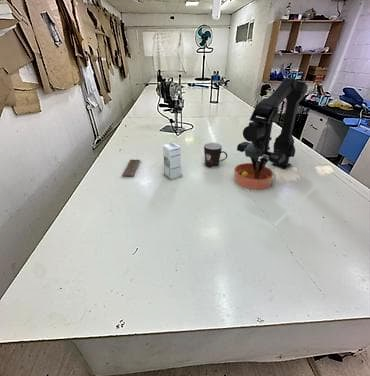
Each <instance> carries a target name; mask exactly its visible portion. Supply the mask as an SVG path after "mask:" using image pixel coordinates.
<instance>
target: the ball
mask: <svg viewBox="0 0 370 376" xmlns="http://www.w3.org/2000/svg"><path fill="white" fill-rule="evenodd" d="M241 175H242V176H244V177H246V178H247V177H248V173H247V172H245V171H244V172H242V174H241Z"/></svg>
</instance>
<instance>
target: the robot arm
mask: <svg viewBox="0 0 370 376" xmlns="http://www.w3.org/2000/svg"><path fill="white" fill-rule="evenodd" d="M308 89H309V85H308V84H307V83H306V81H300V80H298V79H297V78H291V77H285V78H283V79H282V80H281V82H280V84H279V85H278V86H277V88H275V90H274V91H273V92H272V93H271V94H270V95H269V96H268V97H265V98H262V99H261V100H260V101H259V102H258V103H257V104H256V105H255V107H254V108H253V112H251V113H252V114H251V115H250V118H249V121H250V122H248V125H247V126H245V127H244V128H243V130H242V136H243V138H244V140H245V141H243V142H240V143H238V144H237V146H236V151H238V152H240V153H244V156H245V157H247V158H249V159H250V161H251V163H252V164H253V168H254V170H255V166H256V161H260V166H259V172H261V171H262V169H263V168H264V166H265V167H266V165H267V163H268V162H270V163H272V165H273V166H275V167H278V168H280V169H284V170H286V169H287V168H289V167H290V166H292V164H291V163H289V161H290V158H294V157H295V154H296V151H297V150H296V148H295V147H296V146H295V139H294V136H293V132H294V126H295V123H296V117H297V113H298V108H299V104H300V103H301V101H302V100H304V98H305V95H306V94H307V92H308ZM285 100H286V106H285V111H284V115H283V121H282V126H281V130H280V134H279V135H278V136H277V137H275V139H274V143H273V152H272V151H270V150H271V147H270V141H272V138H273V137H271V135H272V129H273V124H274V123H275V120H276V118H277V116H278V114H279V111H280V109H279V106H280V105H281V104H282V103H283V102H284V101H285Z"/></svg>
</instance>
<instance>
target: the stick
mask: <svg viewBox="0 0 370 376" xmlns="http://www.w3.org/2000/svg"><path fill="white" fill-rule="evenodd" d="M259 166H260V160H258V161H256V166H255V173H254V179H259V174H260V172H259Z"/></svg>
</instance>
